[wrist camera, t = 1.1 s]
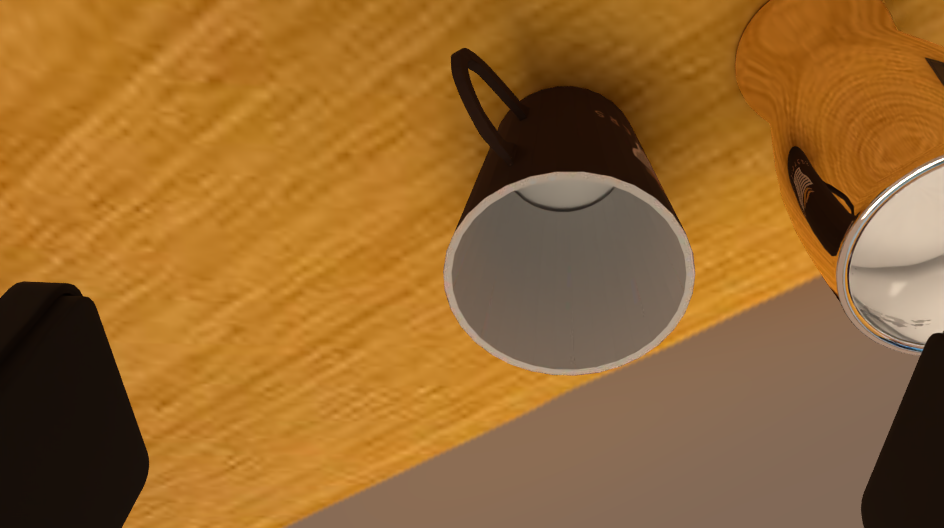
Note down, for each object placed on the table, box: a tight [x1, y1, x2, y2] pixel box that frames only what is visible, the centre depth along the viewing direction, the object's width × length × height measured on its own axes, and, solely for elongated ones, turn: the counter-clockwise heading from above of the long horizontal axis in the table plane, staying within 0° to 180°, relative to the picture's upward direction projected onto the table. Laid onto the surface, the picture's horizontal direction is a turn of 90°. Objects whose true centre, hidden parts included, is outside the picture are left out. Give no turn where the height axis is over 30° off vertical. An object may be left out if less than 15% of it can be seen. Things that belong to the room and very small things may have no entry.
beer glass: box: [735, 0, 944, 356], centre depth 26 cm, size 7×7×15 cm
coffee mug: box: [443, 48, 695, 375], centre depth 31 cm, size 12×9×10 cm
